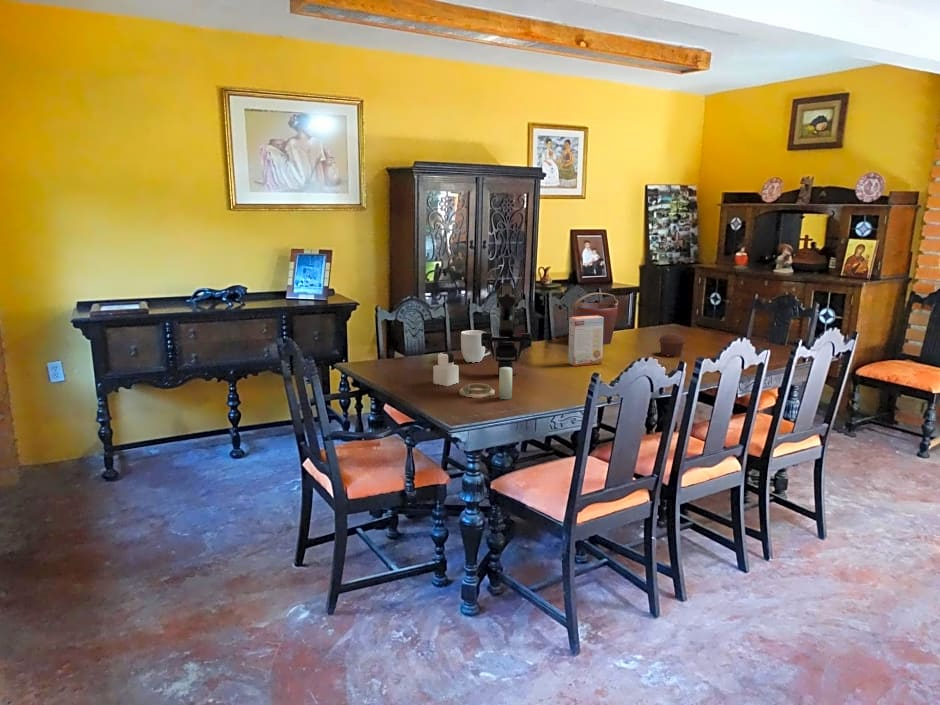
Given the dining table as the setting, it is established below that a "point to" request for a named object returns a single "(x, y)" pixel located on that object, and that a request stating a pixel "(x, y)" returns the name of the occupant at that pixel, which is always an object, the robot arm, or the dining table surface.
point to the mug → (472, 346)
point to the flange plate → (477, 390)
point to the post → (505, 383)
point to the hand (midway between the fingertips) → (506, 358)
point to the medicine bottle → (446, 370)
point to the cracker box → (585, 340)
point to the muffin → (671, 344)
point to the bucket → (599, 313)
